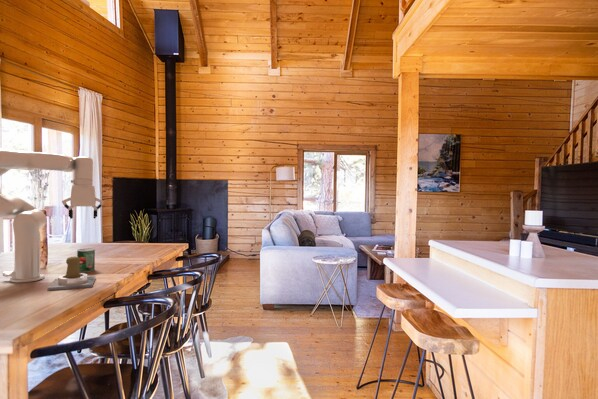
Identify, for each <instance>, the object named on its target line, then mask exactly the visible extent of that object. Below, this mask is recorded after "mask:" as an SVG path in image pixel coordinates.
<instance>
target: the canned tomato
mask: <svg viewBox="0 0 598 399" xmlns="http://www.w3.org/2000/svg"><path fill="white" fill-rule="evenodd" d="M95 250H96V249H95V248H79V249H77V250H76V254H77V256H76V257H79V258H80V263H79V271H80V273H91V272H94V271H95V265H96V264H95V263H96V261H95V260H96V258H95V256H96V255H95V254H96V253H95V252H96V251H95Z"/></svg>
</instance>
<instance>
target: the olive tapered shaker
mask: <svg viewBox="0 0 598 399" xmlns="http://www.w3.org/2000/svg"><path fill="white" fill-rule="evenodd" d="M65 260H66V261H65V262H66V265H67V268H66V273H65V275H66V278H77V277H80V273H81V272H80V271H79V263H80V258H79V257H77V256H70V257H67V258H66V259H65Z"/></svg>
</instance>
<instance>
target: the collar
mask: <svg viewBox="0 0 598 399" xmlns="http://www.w3.org/2000/svg"><path fill="white" fill-rule="evenodd" d="M95 281H96V275H93V276H89V274H87V273H86V272H80V277H77V278H66V274H61V275H59V276H58V278H55V279H54V280H53V281H51V283H50V284H49V286H48V287H47V289H46V290H47V291H60V290H62V291H63V290H74V289H76V290H77V289H84V288H85V289H86V288H87V289H88V288H93V286H94V283H95Z"/></svg>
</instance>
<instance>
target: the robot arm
mask: <svg viewBox="0 0 598 399" xmlns="http://www.w3.org/2000/svg"><path fill="white" fill-rule="evenodd" d="M93 165H94V160H93V158H91V157H87V156H77V157H73V156H68V155H65V154H59V153H49V152H48V153H47V152H36V151H26V150H25V151H24V150H16V149H5V148H4V149H3V148H0V177H2V175H4V174H6V173H8V172H9V171H10V170H22V171H23V170H24V171H35V170H44V171H45V170H46V171H57V172H64V173H65V172H66V173H71V172H73V173H74V178H73V179H70V183H71V184H73V185H72V186H71V191H70V196H69V197H68V198H66V199H63V200H62V201H61V203H62V205H63V206H64V208H65V209H67V210H68V217H69V219H70V220H71V219H73V218H74V211H73V208H75V207H92V208H93V219H95V220H96V218H97V217H98V211H99V209H100V208H102V206H103V205H104V203H105V201H104V200H102V199H101V198H97V196H96V188H95V186H94V183H93V182H94V181H93V180H94V179H93V178H94V177H93V176H94V172H93V171H94V166H93ZM67 202H70V205H68V203H67ZM96 202H98V203H99V204H98V205H97V206H96ZM0 218H3V219H6V218H8V219H9V218H12V220H13V222H12V229H13V234H14V262H13V263H14V264H13V265H14V270H12V271H3V272H2V277H4V278H5V277H6V278H7V277H10V278H9V282H10V283H16V284H17V283H29V282H31V283H32V282H36V281H41V280H43V279H45V274H41V247H42V246H41V242H42V241H41V233H40V232H41V231H40V229H41V228H43V227H45V226H46V224H47V221H48V220H47V219H48V218H47V215H46V214H45V213H44V212H43V211H42V210H40V209H39V208H37V207H36V206H34V205H32V204H31V203H29V202H27V201H25V200H24V199H22V198H19V197H16V196H7V195H5V194H3V193H1V192H0Z"/></svg>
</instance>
